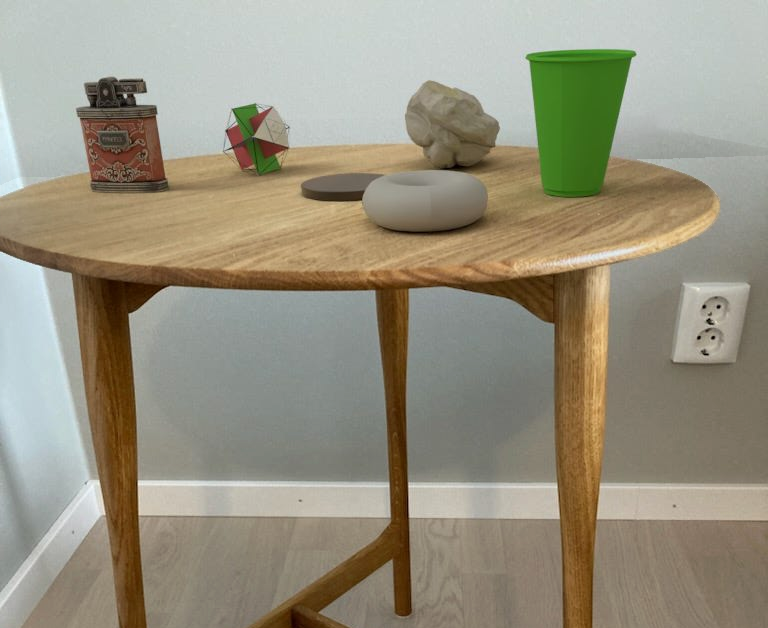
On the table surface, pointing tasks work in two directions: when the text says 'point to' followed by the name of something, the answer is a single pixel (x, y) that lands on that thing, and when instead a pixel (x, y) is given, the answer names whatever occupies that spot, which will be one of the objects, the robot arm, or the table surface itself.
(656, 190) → the table surface
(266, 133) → the geometric puzzle
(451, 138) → the beige lumpy stone
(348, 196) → the walnut coaster
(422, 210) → the donut
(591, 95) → the cup
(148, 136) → the lighter
